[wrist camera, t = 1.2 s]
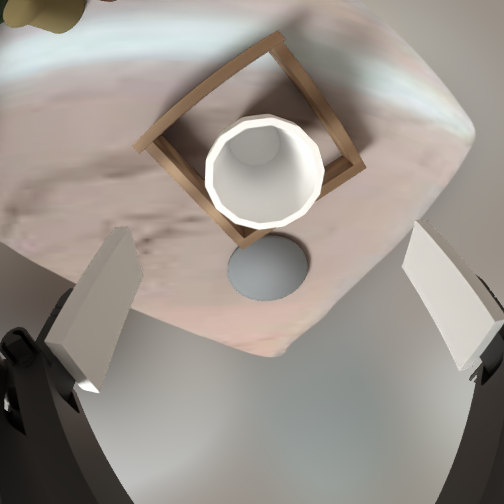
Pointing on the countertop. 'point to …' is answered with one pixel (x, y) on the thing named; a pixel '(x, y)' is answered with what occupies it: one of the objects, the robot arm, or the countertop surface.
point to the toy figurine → (2, 9)
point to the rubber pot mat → (268, 268)
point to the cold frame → (273, 43)
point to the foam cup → (263, 172)
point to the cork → (44, 14)
